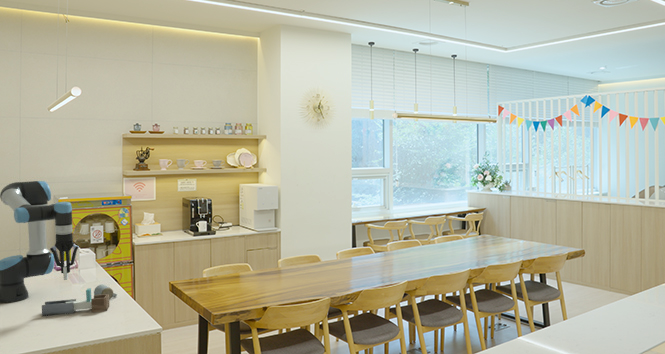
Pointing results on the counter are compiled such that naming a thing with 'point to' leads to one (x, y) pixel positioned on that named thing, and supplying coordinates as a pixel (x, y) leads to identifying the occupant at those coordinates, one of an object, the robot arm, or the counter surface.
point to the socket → (100, 303)
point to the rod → (83, 302)
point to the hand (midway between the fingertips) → (65, 279)
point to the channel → (58, 307)
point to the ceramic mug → (104, 291)
